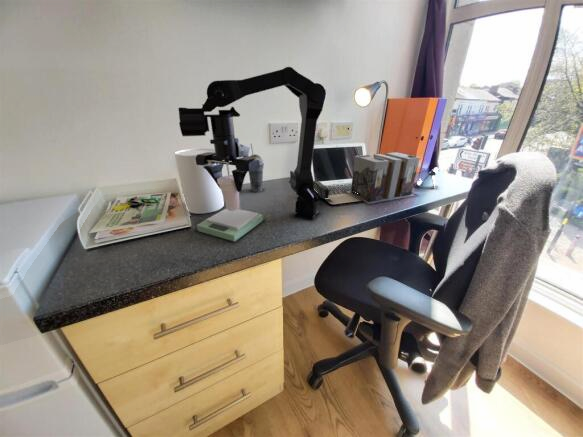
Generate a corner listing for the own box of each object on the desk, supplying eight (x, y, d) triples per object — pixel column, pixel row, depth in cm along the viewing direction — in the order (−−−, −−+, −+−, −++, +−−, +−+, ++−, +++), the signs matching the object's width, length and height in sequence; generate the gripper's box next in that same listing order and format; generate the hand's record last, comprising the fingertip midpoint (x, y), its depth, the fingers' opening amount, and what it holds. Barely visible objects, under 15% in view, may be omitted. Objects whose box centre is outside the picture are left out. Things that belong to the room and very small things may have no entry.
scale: (263, 220, 78) (263, 212, 77) (234, 241, 66) (233, 233, 64) (229, 212, 83) (229, 205, 82) (197, 230, 71) (195, 222, 70)
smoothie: (233, 214, 69) (225, 167, 63) (218, 210, 72) (209, 164, 66) (247, 206, 74) (241, 161, 68) (233, 203, 77) (225, 160, 71)
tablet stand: (418, 182, 116) (422, 165, 113) (436, 185, 112) (441, 167, 109) (415, 186, 110) (419, 169, 106) (434, 190, 106) (439, 171, 102)
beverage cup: (262, 193, 101) (259, 145, 92) (246, 192, 103) (242, 144, 94) (267, 188, 108) (265, 142, 99) (252, 187, 109) (248, 142, 100)
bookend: (416, 195, 100) (425, 156, 93) (368, 203, 91) (375, 161, 84) (389, 184, 113) (395, 150, 106) (345, 191, 104) (349, 154, 97)
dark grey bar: (311, 180, 103) (326, 190, 90) (317, 179, 104) (333, 189, 91) (310, 191, 105) (325, 202, 92) (317, 190, 106) (332, 201, 93)
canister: (188, 201, 93) (178, 149, 84) (224, 198, 96) (217, 147, 87) (183, 215, 81) (170, 156, 72) (224, 211, 84) (216, 154, 75)
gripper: (268, 133, 66) (271, 186, 73) (217, 130, 74) (224, 179, 81) (245, 138, 57) (250, 198, 64) (189, 134, 65) (199, 188, 72)
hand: (230, 190), depth 70 cm, fingers closed on smoothie, 6 cm apart
